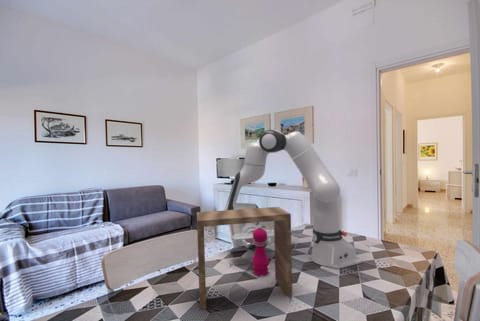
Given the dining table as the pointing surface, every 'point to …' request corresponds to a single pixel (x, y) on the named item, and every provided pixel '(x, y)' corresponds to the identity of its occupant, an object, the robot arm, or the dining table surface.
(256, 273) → the pepper mill
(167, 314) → the dining table surface
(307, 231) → the dining table surface
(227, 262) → the dining table surface
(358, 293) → the dining table surface
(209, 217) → the arch
